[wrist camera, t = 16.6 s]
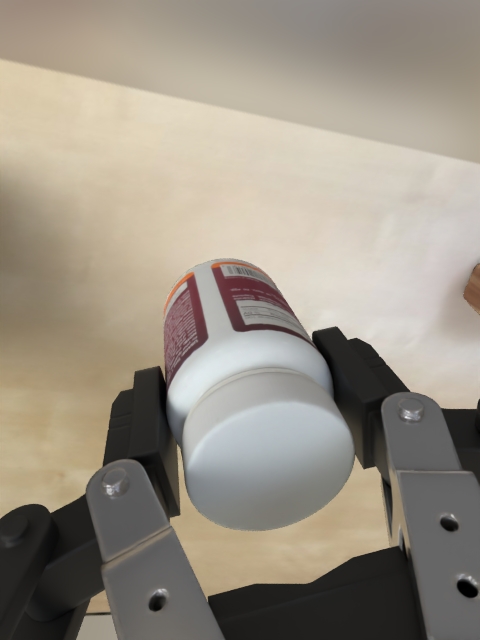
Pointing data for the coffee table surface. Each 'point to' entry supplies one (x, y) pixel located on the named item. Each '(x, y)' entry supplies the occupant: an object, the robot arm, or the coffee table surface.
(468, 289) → the cupcake
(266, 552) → the coffee table surface
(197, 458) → the pill bottle
